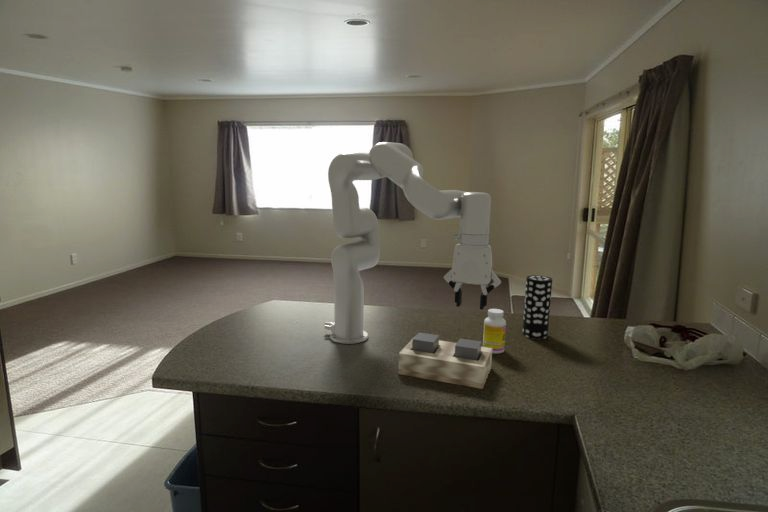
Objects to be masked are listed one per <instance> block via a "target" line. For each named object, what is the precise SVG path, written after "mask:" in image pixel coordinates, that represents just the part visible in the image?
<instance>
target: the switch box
mask: <svg viewBox="0 0 768 512" xmlns="http://www.w3.org/2000/svg"><path fill="white" fill-rule="evenodd" d="M456 344H457V342H453V341H446V340H441V339H439V348H438V350H437V351H436V352H435V354H433V353H427V352H420V351H414V350H412V339H411V340H410V341H409V342H408V343H407V344H406V345H405V346H404V347H403V348H402V349H401V350H400V351H399V353H398V370H397V371H398V375H403V376H407V377H408V376H409V377H415V378H419V379H420V378H421V379H425V380H430V381H437V382H442V383H449V384H453V385H459V386H463V387H464V386H465V387H470V388H476V389H481V390H483V389H484V386H485V384H486V381H487V380H488V377H489V375H488V374H490V372H491V370H492V361H493V360H492V359H493V353H492V348H487V347H483V346H481V356H480V358H479V360H478V361H477V360H471V359H464V358H458V357H455V345H456ZM486 379H487V380H486Z"/></svg>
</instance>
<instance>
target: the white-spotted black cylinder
mask: <svg viewBox="0 0 768 512" xmlns="http://www.w3.org/2000/svg"><path fill="white" fill-rule="evenodd" d="M552 288H553V278H552V277H549V276H545V275H537V274H536V275H534V274H531V275H527V276H526V279H525V293H524V306H523V319H522V335H523V337H526V338H528V339H532V340H545V339H547V338H548V337H549V335H548V334H549V325H550V314H551V313H550V310H551V301H552Z"/></svg>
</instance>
